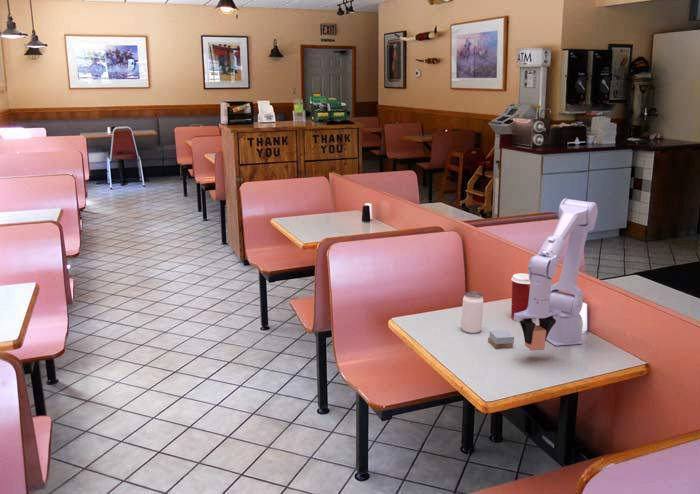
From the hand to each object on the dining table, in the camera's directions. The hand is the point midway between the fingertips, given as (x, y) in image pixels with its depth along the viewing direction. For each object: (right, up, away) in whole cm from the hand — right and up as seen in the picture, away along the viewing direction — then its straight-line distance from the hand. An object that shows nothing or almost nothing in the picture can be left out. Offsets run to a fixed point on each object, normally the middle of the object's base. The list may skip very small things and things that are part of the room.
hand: (534, 341), depth 183 cm
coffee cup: (+5, +3, +33) cm, 34 cm away
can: (-14, 0, +22) cm, 26 cm away
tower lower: (-8, -3, +11) cm, 13 cm away
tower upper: (-7, -1, +10) cm, 13 cm away
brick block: (0, -2, 0) cm, 2 cm away
